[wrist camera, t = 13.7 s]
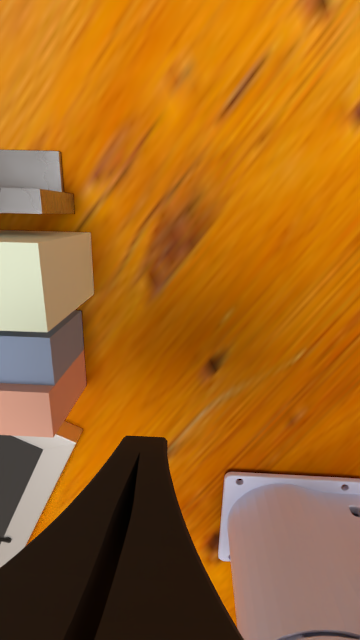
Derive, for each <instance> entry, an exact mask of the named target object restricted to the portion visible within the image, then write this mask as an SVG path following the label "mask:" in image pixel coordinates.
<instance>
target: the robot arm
mask: <svg viewBox="0 0 360 640" xmlns="http://www.w3.org/2000/svg"><path fill="white" fill-rule="evenodd" d="M237 479H242V480H239V481H238V480H237ZM342 485H344V486H342ZM218 557H219V559H220V560H222V561H231V569H232V579H233V589H234V599H235V609H236V619H237V627H236V626H235V624H234V622H233V620H232V619H231V617H230V615H229V613H228V612H227V610H226V608H225V606H224V605H223V603H222V601H221V599H220V597H219V595H218V593H217V591H216V589H215V588H214V586H213V584H212V582H211V580H210V578H209V576H208V574H207V572H206V570H205V568H204V566H203V564H202V562H201V560H200V557H199V555H198V553H197V551H196V549H195V546H194V544H193V542H192V539H191V537H190V534H189V532H188V529H187V527H186V524H185V521H184V519H183V516H182V513H181V510H180V507H179V504H178V501H177V498H176V494H175V491H174V487H173V483H172V479H171V475H170V470H169V464H168V458H167V440H166V439H165V438H163V437H143V436H126V437H124V438H123V440H122V441H121V443H120V444H119V445H118V447H117V448H116V450H115V451H114V452H113V454H112V455H111V456H110V458H109V459H108V460H107V462H106V463H105V464H104V466H103V467H102V468H101V469H100V471H99V472H98V473H97V474H96V475H95V477H94V478H93V479H92V480H91V482H90V483H89V484H88V485H87V486H86V487H85V488H84V490H83V491H82V492H81V493H80V494H79V495H78V496H77V497H76V498H75V499H74V500H73V502H72V503H71V504H70V505H69V506H68V507H67V508H66V509H65V510H64V511H63V512H62V513H61V514H60V515H59V516H58V517H57V518H56V519H55V520H54V521H53V522H52V523H51V524H50V525H49V526H48V527H47V528H46V529H45V530H44V531H42V532H41V533H40V534H39V535H38V536H37V537H36V538H35V539H34V540H32V541H31V542H30V543H29V544H28V545H27V546H26V547H24V548H23V549H22V550H21V551H20V552H19V553H17V554H16V555H15V556H14V557H13V558H11V559H10V560H9V561H8V562H7V563H5V564H4V565H3V566H2V567H0V640H360V479H358V478H340V477H321V476H303V475H284V474H266V473H247V472H228V473H227V474H226V475H225V477H224V487H223V499H222V511H221V523H220V534H219V546H218Z"/></svg>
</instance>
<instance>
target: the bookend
mask: <svg viewBox="0 0 360 640" xmlns="http://www.w3.org/2000/svg"><path fill="white" fill-rule="evenodd" d="M0 213H27V214H75V212H74V198H73V194H71V193H64V187H63V174H62V162H61V152H59V151H27V150H0Z"/></svg>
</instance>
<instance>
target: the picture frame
mask: <svg viewBox="0 0 360 640" xmlns="http://www.w3.org/2000/svg"><path fill="white" fill-rule="evenodd" d="M82 431H83V429H82V428H79V427H77V426H75V425H73V424H70V423H68V422H66V421H64V422H63V423H62V425H61V427H60V428H59V430H58V431H57V433H56V434H55V436H54V438H50V437H31V436H12V435H0V567H2V566H3V565H4V564H5V563H7V562H8V561H9V560H10V559H11V558H13V557H14V556H15V555H16V554H17V553H19V552H20V551H21V550H22V549H23V548H24V547H25V546H26V544H27V542H28V540H29V538H30V536H31V534H32V532H33V530H34V528H35V526H36V524H37V522H38V520H39V518H40V516H41V514H42V512H43V510H44V508H45V506H46V504H47V502H48V500H49V498H50V496H51V494H52V492H53V489H54V487H55V485H56V483H57V481H58V479H59V477H60V475H61V473H62V471H63V469H64V467H65V465H66V463H67V461H68V459H69V457H70V455H71V453H72V451H73V449H74V447H75V445H76V443H77V441H78V439H79V437H80V435H81V433H82Z"/></svg>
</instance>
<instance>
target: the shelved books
mask: <svg viewBox="0 0 360 640" xmlns="http://www.w3.org/2000/svg"><path fill="white" fill-rule="evenodd" d="M85 387H86V370H85V356H84V342H83V327H82V313H81V311H79V310H74V311H73V312H72V313H71V314H69V315H68V316H67V317H66V318H64V319H63V320H62V321H61V322H60V323H58V324H57V325H56V326H55V327H54V328H52V329H51V330H50V331H49V332H24V331H0V435H12V436H31V437H50V438H54V436H55V434H56V433H57V431H58V430H59V428H60V427H61V425H62V423H63V422H64V420H65V419H66V417H67V415H68V414H69V412H70V411H71V409H72V407H73V406H74V404H75V403H76V401H77V400H78V398H79V396H80V395H81V393H82V392H83V390H84V388H85Z"/></svg>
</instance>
